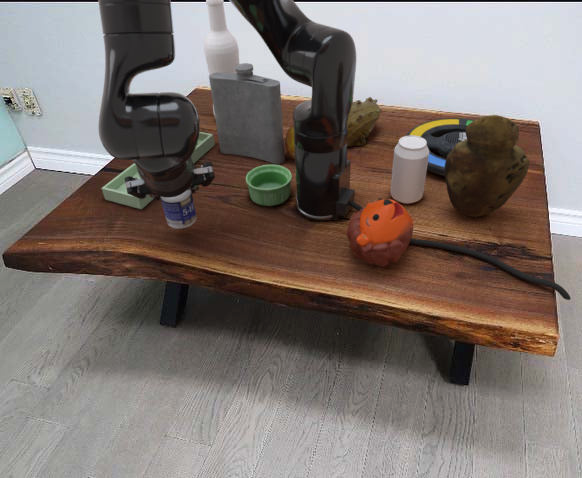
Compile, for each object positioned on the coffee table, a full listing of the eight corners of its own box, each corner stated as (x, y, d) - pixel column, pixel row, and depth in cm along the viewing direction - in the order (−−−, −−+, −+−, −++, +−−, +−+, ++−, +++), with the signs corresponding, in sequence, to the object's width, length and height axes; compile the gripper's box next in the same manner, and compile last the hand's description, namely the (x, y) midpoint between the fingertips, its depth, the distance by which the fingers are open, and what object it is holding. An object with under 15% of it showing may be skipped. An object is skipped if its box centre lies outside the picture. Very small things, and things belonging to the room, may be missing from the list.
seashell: (385, 131, 121) (388, 89, 115) (365, 154, 110) (367, 109, 105) (342, 124, 125) (343, 84, 120) (318, 146, 114) (319, 102, 109)
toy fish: (406, 282, 80) (414, 226, 72) (340, 273, 82) (342, 217, 75) (411, 235, 88) (419, 181, 81) (352, 228, 91) (354, 174, 84)
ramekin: (273, 213, 95) (272, 194, 93) (238, 198, 100) (235, 180, 97) (301, 191, 101) (301, 172, 98) (267, 178, 105) (265, 159, 102)
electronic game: (411, 125, 120) (413, 106, 117) (514, 137, 113) (519, 117, 110) (394, 176, 103) (396, 155, 100) (513, 192, 97) (519, 171, 94)
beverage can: (427, 193, 98) (435, 138, 90) (414, 210, 94) (422, 153, 87) (398, 184, 101) (403, 130, 93) (384, 200, 97) (389, 145, 89)
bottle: (246, 109, 131) (232, -17, 112) (246, 124, 125) (231, -7, 105) (215, 112, 131) (196, -14, 112) (213, 126, 124) (192, -5, 105)
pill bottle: (191, 230, 87) (181, 188, 81) (162, 228, 88) (151, 185, 82) (201, 212, 91) (192, 170, 85) (174, 210, 92) (163, 168, 86)
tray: (214, 145, 117) (213, 134, 115) (141, 209, 98) (138, 197, 97) (182, 138, 120) (180, 127, 119) (105, 199, 102) (101, 188, 100)
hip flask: (217, 152, 114) (204, 65, 102) (226, 144, 117) (214, 58, 104) (281, 165, 109) (274, 74, 96) (288, 156, 112) (283, 66, 99)
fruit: (304, 142, 116) (303, 110, 111) (336, 154, 111) (337, 120, 106) (277, 160, 110) (275, 127, 105) (310, 173, 106) (309, 139, 101)
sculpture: (434, 222, 91) (451, 120, 78) (440, 196, 97) (457, 98, 84) (512, 235, 87) (544, 130, 75) (513, 207, 93) (543, 106, 81)
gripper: (210, 131, 73) (211, 162, 89) (108, 149, 70) (129, 177, 87) (221, 181, 72) (220, 203, 89) (118, 201, 70) (137, 220, 86)
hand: (175, 190), depth 88 cm, fingers closed on pill bottle, 5 cm apart
